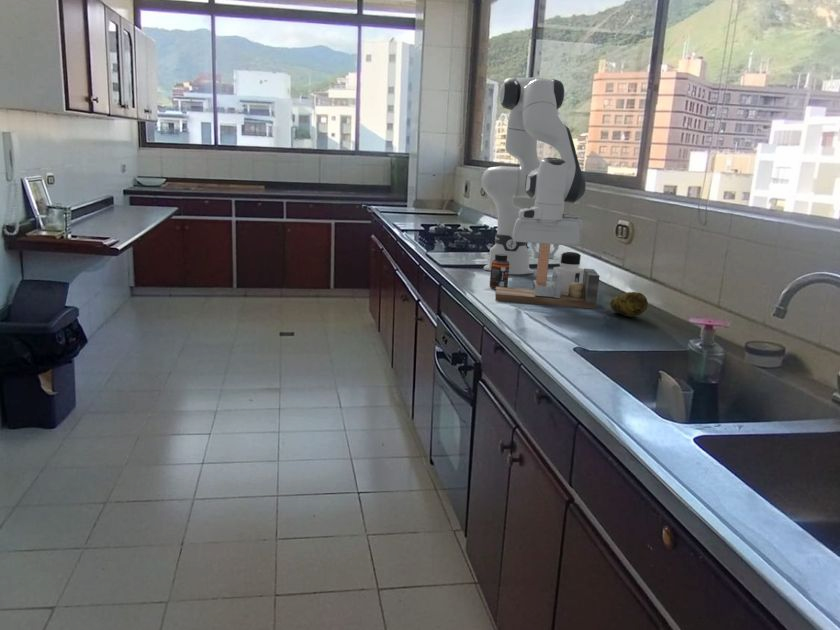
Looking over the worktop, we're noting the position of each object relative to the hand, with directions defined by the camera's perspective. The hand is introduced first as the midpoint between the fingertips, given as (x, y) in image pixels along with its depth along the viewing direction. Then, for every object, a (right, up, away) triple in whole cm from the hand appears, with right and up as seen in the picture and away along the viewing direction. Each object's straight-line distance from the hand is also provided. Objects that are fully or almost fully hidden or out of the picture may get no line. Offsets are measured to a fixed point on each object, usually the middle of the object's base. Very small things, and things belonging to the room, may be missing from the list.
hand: (543, 258), depth 207 cm
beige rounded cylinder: (+10, -12, +2) cm, 16 cm away
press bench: (+1, -13, +3) cm, 13 cm away
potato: (+22, -18, -12) cm, 31 cm away
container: (+12, -9, +21) cm, 25 cm away
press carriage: (+1, -11, +2) cm, 11 cm away
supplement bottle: (-12, -9, +18) cm, 23 cm away
